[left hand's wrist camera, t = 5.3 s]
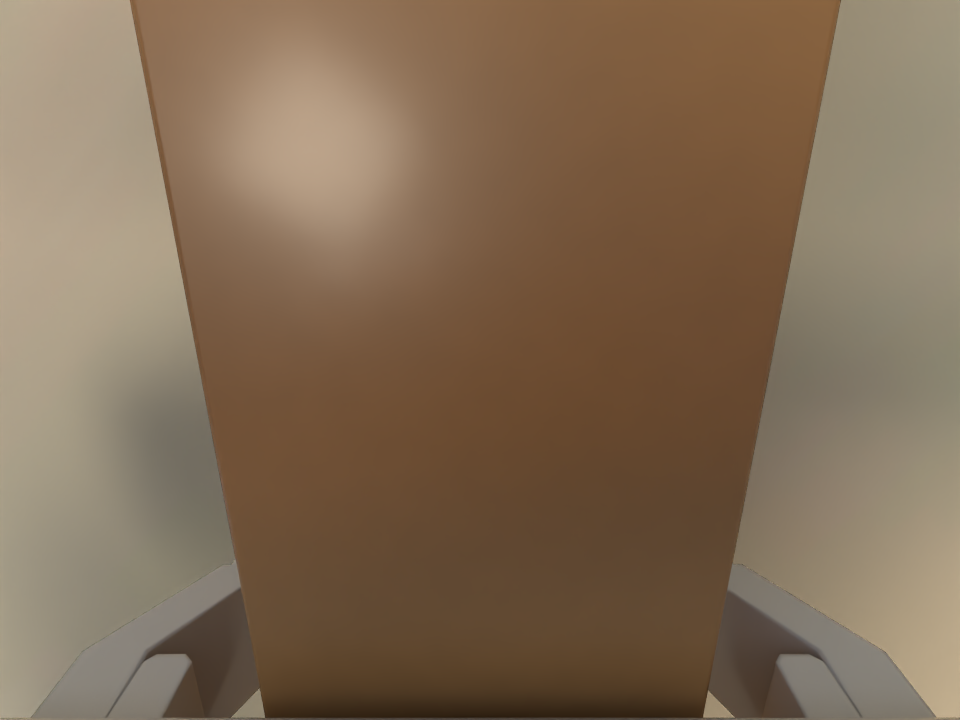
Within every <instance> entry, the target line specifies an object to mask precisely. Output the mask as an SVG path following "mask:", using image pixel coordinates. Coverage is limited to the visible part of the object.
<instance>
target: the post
mask: <svg viewBox="0 0 960 720" xmlns="http://www.w3.org/2000/svg"><path fill="white" fill-rule="evenodd" d="M840 2H841V0H130V3H131V8H132V14H133V19H134V24H135V30H136V35H137V40H138V45H139V51H140V56H141V61H142V67H143V72H144V77H145V82H146V88H147V93H148V98H149V104H150V109H151V114H152V120H153V125H154V130H155V135H156V141H157V146H158V151H159V157H160V162H161V167H162V172H163V178H164V183H165V188H166V194H167V199H168V204H169V209H170V215H171V220H172V225H173V231H174V236H175V241H176V247H177V252H178V257H179V262H180V268H181V273H182V278H183V284H184V289H185V294H186V299H187V305H188V310H189V315H190V321H191V326H192V331H193V337H194V342H195V347H196V352H197V358H198V363H199V368H200V374H201V379H202V384H203V389H204V395H205V400H206V405H207V411H208V416H209V421H210V427H211V432H212V437H213V442H214V448H215V453H216V458H217V464H218V469H219V474H220V479H221V485H222V490H223V495H224V501H225V506H226V511H227V516H228V522H229V527H230V532H231V538H232V543H233V548H234V554H235V559H236V564H237V569H238V575H239V580H240V585H241V591H242V596H243V601H244V606H245V612H246V617H247V622H248V628H249V633H250V638H251V644H252V649H253V654H254V659H255V665H256V670H257V675H258V681H259V686H260V691H261V696H262V702H263V707H264V712H265V718H703V713H704V708H705V703H706V698H707V692H708V687H709V682H710V677H711V672H712V666H713V661H714V656H715V651H716V646H717V640H718V635H719V630H720V625H721V620H722V614H723V609H724V604H725V599H726V594H727V589H728V583H729V578H730V573H731V568H732V563H733V557H734V552H735V547H736V542H737V537H738V531H739V526H740V521H741V516H742V511H743V505H744V500H745V495H746V490H747V485H748V480H749V474H750V469H751V464H752V459H753V454H754V448H755V443H756V438H757V433H758V428H759V422H760V417H761V412H762V407H763V402H764V396H765V391H766V386H767V381H768V376H769V371H770V365H771V360H772V355H773V350H774V345H775V339H776V334H777V329H778V324H779V319H780V313H781V308H782V303H783V298H784V293H785V287H786V282H787V277H788V272H789V267H790V262H791V256H792V251H793V246H794V241H795V236H796V230H797V225H798V220H799V215H800V210H801V204H802V199H803V194H804V189H805V184H806V178H807V173H808V168H809V163H810V158H811V152H812V147H813V142H814V137H815V132H816V127H817V121H818V116H819V111H820V106H821V101H822V95H823V90H824V85H825V80H826V75H827V69H828V64H829V59H830V54H831V49H832V43H833V38H834V33H835V28H836V23H837V18H838V12H839V7H840Z"/></svg>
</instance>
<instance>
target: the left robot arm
mask: <svg viewBox="0 0 960 720" xmlns="http://www.w3.org/2000/svg"><path fill="white" fill-rule="evenodd" d="M259 688H260V686H259V681H258V675H257V670H256V665H255V659H254V654H253V649H252V644H251V638H250V633H249V628H248V622H247V617H246V612H245V606H244V601H243V596H242V591H241V585H240V580H239V575H238V569H237V564H236V559H235V560H234V562H233V563H232V565H222V566H220V567H219V568H217V569H215V570H214V571H212V572H210V573H209V574H207V575H206V576H204V577H202V578H201V579H199V580H197V581H196V582H194V583H193V584H191V585H189V586H188V587H186V588H184V589H183V590H181V591H180V592H178V593H176V594H175V595H173V596H171V597H170V598H168V599H167V600H165V601H163V602H162V603H160V604H158V605H157V606H155V607H154V608H152V609H150V610H149V611H147V612H145V613H144V614H142V615H141V616H139V617H137V618H136V619H134V620H132V621H131V622H129V623H128V624H126V625H124V626H123V627H121V628H119V629H118V630H116V631H115V632H113V633H111V634H110V635H108V636H106V637H105V638H103V639H101V640H100V641H98V642H97V643H95V644H93V645H92V646H90V647H88V648H87V649H85V650H84V651H82V652H81V654H80V655H79V656H78V657H77V659H76V660H75V661H74V663H73V664H72V665H71V666H70V668H69V669H68V670H67V672H66V673H65V674H64V676H63V677H62V678H61V679H60V681H59V682H58V683H57V685H56V686H55V687H54V688H53V690H52V691H51V692H50V694H49V695H48V696H47V698H46V699H45V700H44V701H43V703H42V704H41V705H40V707H39V708H38V709H37V710H36V712H35V713H34V714H33V716H32V717H31V718H0V720H960V718H937V717H936V716H935V715H934V713H933V712H932V711H931V710H930V708H929V707H928V706H927V704H926V703H925V702H924V701H923V699H922V698H921V697H920V696H919V694H918V693H917V692H916V690H915V689H914V688H913V687H912V685H911V684H910V683H909V681H908V680H907V679H906V678H905V676H904V675H903V674H902V672H901V671H900V670H899V669H898V667H897V666H896V665H895V663H894V662H893V661H892V660H891V658H890V657H889V656H888V655H887V653H886V652H884V651H883V650H881V649H879V648H878V647H876V646H875V645H873V644H871V643H870V642H868V641H866V640H865V639H863V638H862V637H860V636H858V635H857V634H855V633H853V632H852V631H850V630H848V629H847V628H845V627H844V626H842V625H840V624H839V623H837V622H835V621H834V620H832V619H830V618H829V617H827V616H826V615H824V614H822V613H821V612H819V611H817V610H816V609H814V608H812V607H811V606H809V605H808V604H806V603H804V602H803V601H801V600H799V599H798V598H796V597H795V596H793V595H791V594H790V593H788V592H786V591H785V590H783V589H781V588H780V587H778V586H777V585H775V584H773V583H772V582H770V581H768V580H767V579H765V578H763V577H762V576H760V575H759V574H757V573H755V572H754V571H752V570H750V569H749V568H747V567H745V566H744V565H734V564H733V563H732V568H731V573H730V578H729V583H728V589H727V594H726V599H725V604H724V609H723V614H722V620H721V625H720V630H719V635H718V640H717V646H716V651H715V656H714V661H713V666H712V672H711V677H710V682H709V687H708V690H709V691H710V692H711V693H712V694H713V695H714V696H715V697H716V698H717V699H718V700H719V701H720V702H721V703H722V704H723V705H724V706H725V707H726V708H727V710H728V711H729V712H730V713H731V714H732V715H733V716H734V717H735V718H231V717H232V716H233V715H234V713H235V712H236V711H237V710H238V709H239V708H240V707H241V706H242V705H243V704H244V703H245V702H246V701H247V700H248V699H249V698H250V697H251V696H252V695H253V694H254V693H255V692H256V691H257V690H258V689H259Z"/></svg>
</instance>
